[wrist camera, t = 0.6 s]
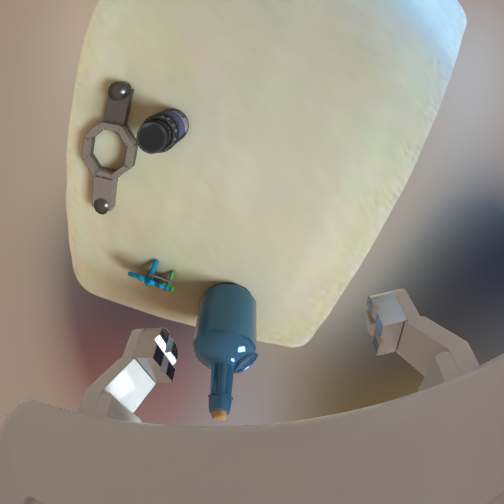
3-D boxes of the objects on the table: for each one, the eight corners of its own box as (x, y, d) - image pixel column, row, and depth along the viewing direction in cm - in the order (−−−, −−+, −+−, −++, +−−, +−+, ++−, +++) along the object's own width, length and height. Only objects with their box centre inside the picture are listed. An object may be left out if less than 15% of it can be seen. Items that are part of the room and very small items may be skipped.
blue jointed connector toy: (125, 276, 60) (127, 278, 52) (134, 253, 62) (137, 251, 53) (168, 293, 65) (177, 297, 56) (176, 270, 66) (186, 270, 57)
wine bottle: (196, 312, 69) (177, 422, 44) (208, 274, 62) (185, 397, 37) (248, 325, 71) (246, 434, 46) (266, 289, 64) (271, 411, 39)
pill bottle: (164, 103, 41) (141, 110, 32) (195, 116, 43) (179, 126, 34) (151, 134, 44) (126, 149, 35) (180, 147, 46) (162, 165, 37)
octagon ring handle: (100, 78, 37) (93, 79, 35) (151, 85, 39) (146, 86, 37) (85, 202, 51) (79, 208, 49) (128, 214, 53) (123, 220, 51)
